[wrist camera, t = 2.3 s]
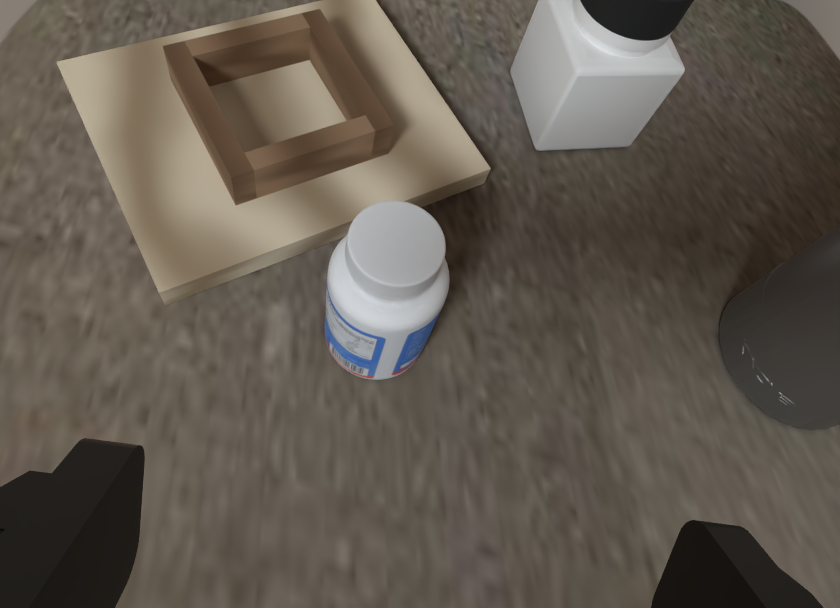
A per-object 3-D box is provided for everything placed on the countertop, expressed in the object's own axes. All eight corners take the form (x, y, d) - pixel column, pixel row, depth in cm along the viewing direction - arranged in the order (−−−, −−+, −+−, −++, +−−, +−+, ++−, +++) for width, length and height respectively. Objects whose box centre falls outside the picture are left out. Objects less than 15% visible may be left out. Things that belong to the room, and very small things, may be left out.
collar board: (366, 8, 44) (372, -45, 40) (484, 183, 39) (503, 141, 35) (65, 81, 37) (40, 25, 33) (164, 305, 32) (148, 269, 28)
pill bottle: (413, 284, 35) (452, 181, 26) (432, 374, 33) (481, 295, 24) (315, 294, 34) (322, 188, 25) (329, 388, 32) (341, 309, 23)
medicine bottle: (630, 149, 42) (742, -2, 32) (534, 153, 41) (618, -5, 30) (599, 70, 45) (692, -94, 35) (507, 70, 44) (576, -101, 33)
